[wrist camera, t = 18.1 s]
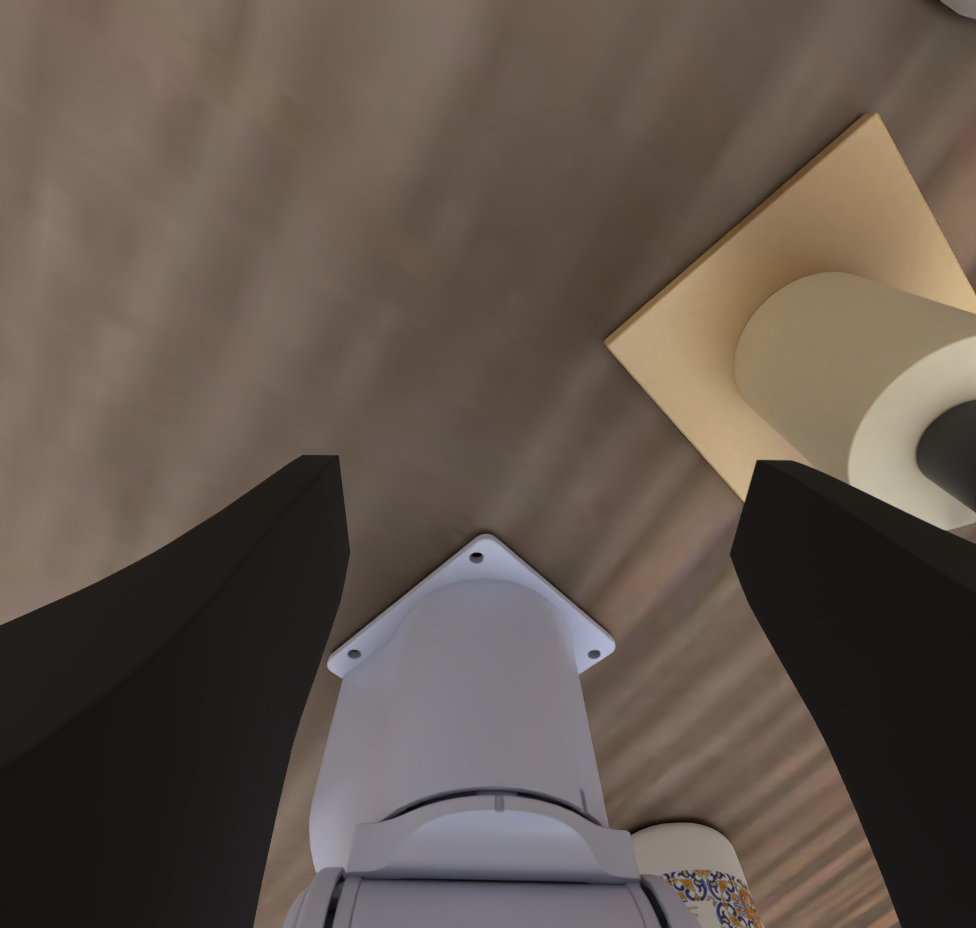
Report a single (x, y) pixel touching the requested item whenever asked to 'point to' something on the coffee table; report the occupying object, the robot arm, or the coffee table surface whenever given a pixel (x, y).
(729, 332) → the coaster
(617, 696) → the coffee table surface
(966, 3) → the beverage can
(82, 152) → the coffee table surface
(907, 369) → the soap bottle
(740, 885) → the bath foam
